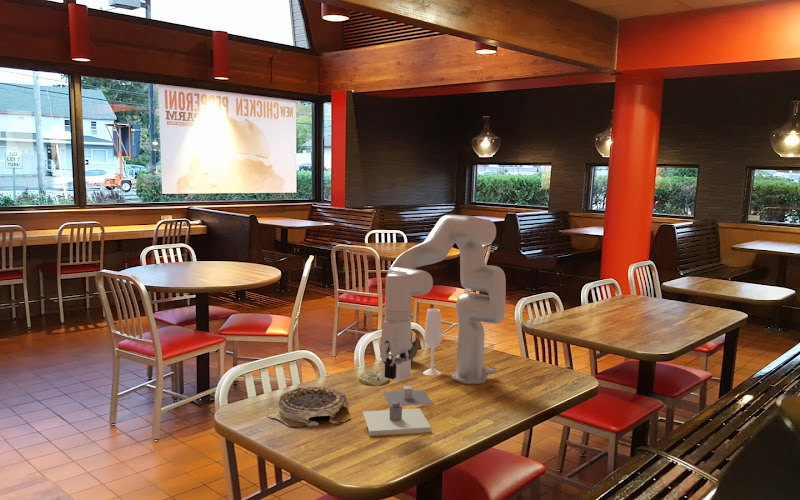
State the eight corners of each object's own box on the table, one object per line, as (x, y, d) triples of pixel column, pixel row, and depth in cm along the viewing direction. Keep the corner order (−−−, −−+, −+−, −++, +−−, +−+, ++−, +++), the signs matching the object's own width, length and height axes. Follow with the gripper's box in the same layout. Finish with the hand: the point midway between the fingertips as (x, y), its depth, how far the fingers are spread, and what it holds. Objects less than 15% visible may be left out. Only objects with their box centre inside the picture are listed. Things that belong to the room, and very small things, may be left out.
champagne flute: (419, 371, 229) (421, 308, 226) (435, 369, 232) (437, 307, 229) (428, 377, 223) (429, 312, 220) (444, 374, 226) (446, 311, 223)
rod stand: (423, 394, 207) (424, 379, 206) (432, 408, 195) (433, 393, 194) (382, 396, 204) (383, 381, 203) (389, 410, 192) (389, 395, 191)
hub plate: (419, 412, 191) (420, 392, 190) (430, 432, 178) (431, 410, 177) (362, 416, 187) (362, 395, 187) (369, 436, 174) (369, 414, 173)
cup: (395, 362, 238) (395, 342, 237) (404, 357, 245) (404, 338, 244) (412, 366, 235) (412, 345, 234) (420, 360, 242) (421, 341, 240)
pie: (251, 408, 192) (251, 393, 192) (321, 389, 211) (321, 375, 211) (303, 438, 173) (304, 421, 172) (375, 413, 192) (376, 398, 191)
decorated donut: (380, 392, 208) (380, 381, 208) (352, 386, 213) (352, 376, 212) (393, 382, 217) (394, 372, 217) (367, 377, 222) (367, 367, 221)
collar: (393, 371, 184) (393, 355, 184) (410, 375, 181) (410, 359, 180) (381, 376, 179) (382, 360, 179) (398, 381, 176) (399, 364, 175)
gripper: (403, 308, 187) (401, 365, 189) (369, 318, 173) (368, 380, 175) (424, 311, 183) (422, 370, 185) (391, 322, 169) (390, 385, 171)
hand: (396, 374), depth 180 cm, fingers closed on collar, 6 cm apart
